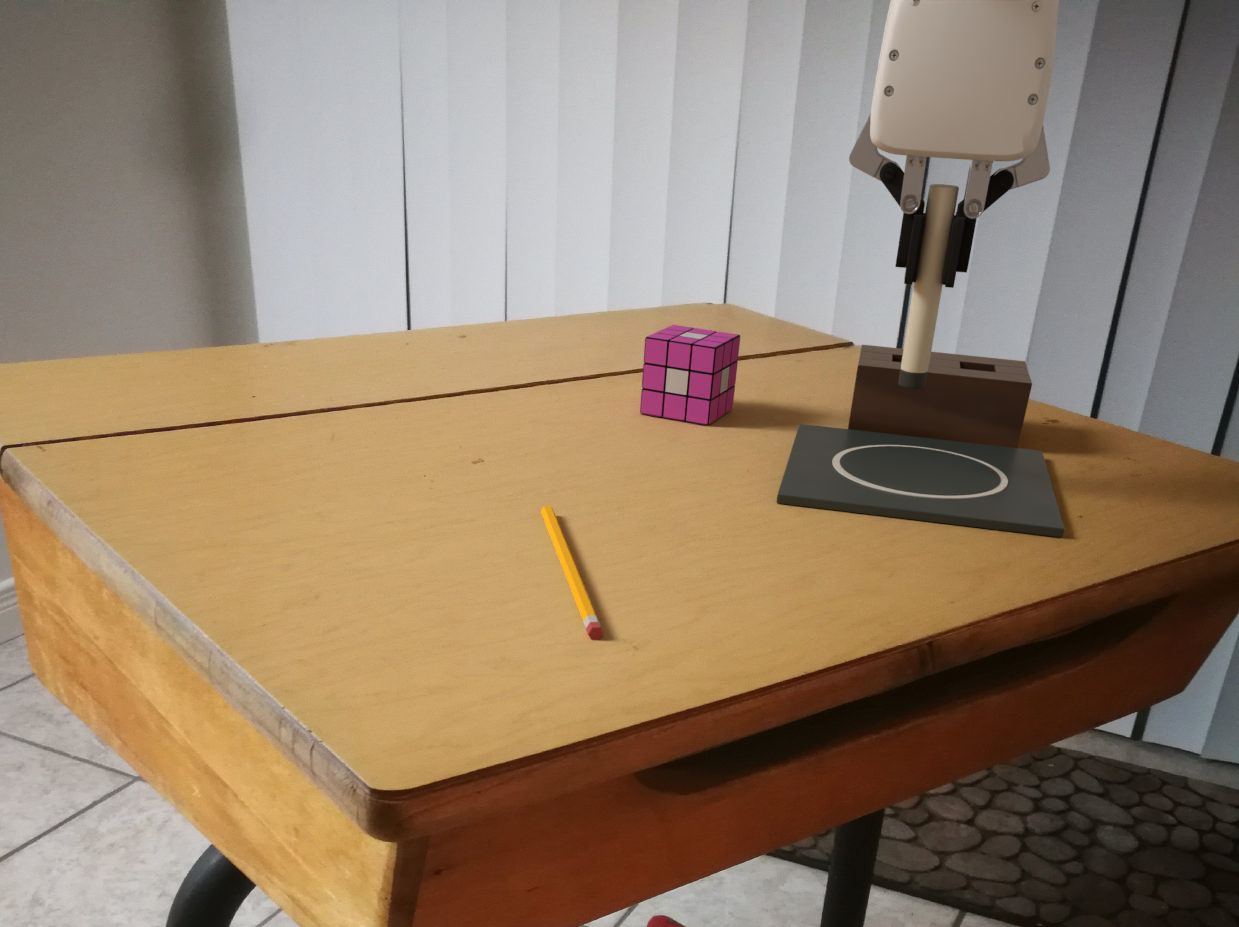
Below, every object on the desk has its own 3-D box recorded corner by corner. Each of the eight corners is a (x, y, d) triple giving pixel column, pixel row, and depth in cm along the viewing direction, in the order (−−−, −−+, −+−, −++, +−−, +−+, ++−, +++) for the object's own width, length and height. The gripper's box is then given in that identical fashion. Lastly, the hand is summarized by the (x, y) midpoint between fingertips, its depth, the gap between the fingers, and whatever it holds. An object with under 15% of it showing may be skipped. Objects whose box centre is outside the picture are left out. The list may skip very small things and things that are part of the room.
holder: (851, 408, 105) (861, 344, 102) (1010, 425, 103) (1025, 361, 100) (847, 432, 98) (857, 364, 96) (1016, 451, 96) (1032, 383, 94)
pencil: (587, 640, 63) (587, 627, 63) (540, 516, 78) (540, 505, 78) (603, 639, 64) (604, 626, 63) (553, 516, 79) (553, 505, 78)
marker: (925, 383, 87) (958, 185, 80) (925, 389, 85) (959, 187, 79) (898, 381, 87) (929, 183, 80) (897, 387, 85) (929, 186, 79)
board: (1040, 458, 95) (1042, 448, 95) (1062, 537, 80) (1065, 526, 80) (798, 431, 98) (799, 421, 97) (776, 503, 83) (777, 492, 82)
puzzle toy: (666, 398, 104) (672, 324, 101) (732, 409, 102) (741, 334, 99) (639, 413, 99) (644, 336, 96) (708, 425, 98) (716, 347, 94)
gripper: (1122, -58, 74) (1050, 283, 84) (848, -69, 77) (809, 264, 87) (1140, -67, 68) (1060, 303, 78) (842, -78, 71) (801, 282, 81)
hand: (928, 280), depth 82 cm, fingers closed on marker, 1 cm apart
